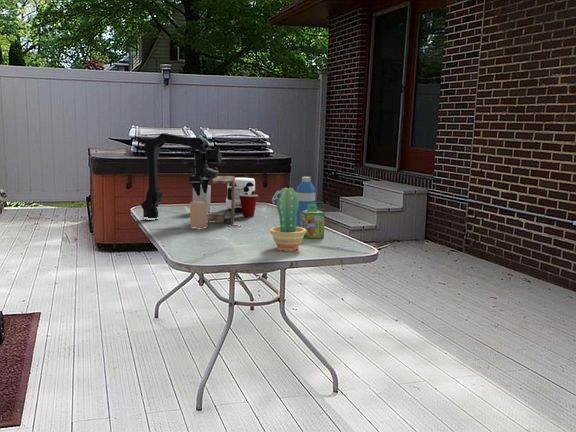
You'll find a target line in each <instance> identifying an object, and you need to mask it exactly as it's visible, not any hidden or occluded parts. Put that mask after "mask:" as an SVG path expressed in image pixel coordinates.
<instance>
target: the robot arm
mask: <svg viewBox="0 0 576 432" xmlns="http://www.w3.org/2000/svg"><path fill="white" fill-rule="evenodd" d="M167 142H169V143H174V144H178V145H183V146H184V145H185V146H188V147H189V148H191V151H190V152H189V154H190V155H194V157H193V158H194V165H193V169H194V173H193V175H190V176H189V177H188V182H189V184H191V186H192V189H193V188H194V190H195V192H196V194H197V195H198V196H200V190H201V186H202V189H203V192H204V193H207V188H208V185H210V183H211V182H212V180H213V178H217V176H219V174H220V172H219V170H218V167H213V168H210V167H209V165H208V164H207V163H209V164H221V163H222V159H223V158H222V157H223V156H222V152H221V149H220V148H215V149H212V148H211V147H210V145H209V144H208V142H207V140H206V138H205V137H201V136H200V137H199V136H197V137H196V136H195V137H192V136H191V137H187V136H181V135H176V134H172V133H171V134H170V133H167V132H164V133H160V134H159V135H158V136H156V137H155V138H153V139H152V140H150V141H147V142H145V144H144V146H143V150H144V155H145V157H146V159H147V172H148V173H147V176H148V177H147V178H148V189H147V191H146V193H145V201H143V202H142V203H141V205H140V206H141V208H142V211H143V213H142V214H143V217H142V218H144V217H148V218H157V217H158V218H159V210H158V207H159V206H160V204H161V202H162V200H163V199H164V198H163V190H160V188H159V174H158V172H159V171H158V169H159V168H158V158H159V155H160V153H161V148H162V147H163V146H164V145H165V144H166V143H167Z"/></svg>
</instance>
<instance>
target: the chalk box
mask: <svg viewBox="0 0 576 432" xmlns="http://www.w3.org/2000/svg"><path fill="white" fill-rule="evenodd" d="M317 204H318V203H315V204H307V210H301V211H300V227H301V228H305V229H306V230H307V231H306V234H305V235H304V237H303V239H324V238H325V235H324V234H325V221H326V220H325V217H326V216H325V215H326V213H325V212H323V211H322V210H319V209H318V205H317ZM311 206H313V207H314V209H313V210H312V209H310V207H311Z"/></svg>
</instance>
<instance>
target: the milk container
mask: <svg viewBox="0 0 576 432" xmlns="http://www.w3.org/2000/svg"><path fill="white" fill-rule="evenodd" d="M226 188H227V195H226V198H225V207H226V209H227V210H229V211H231V184H227V187H226ZM255 192H256V181H255V178H252V177H235V212H242V208H241V201H240V197H239V195H241V194H249V195H256V193H255Z"/></svg>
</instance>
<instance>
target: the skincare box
mask: <svg viewBox="0 0 576 432" xmlns="http://www.w3.org/2000/svg"><path fill="white" fill-rule="evenodd" d="M211 190H212V185H210V184H208V188H207V193H204V192H203V189H202V186H201V190H200V196H198V195H197V194H196V192H195V190H194V188H193V187H192V202H194V201H204V202H207V213H208V212H210V213H211V193H212V191H211ZM208 214H209V213H208Z"/></svg>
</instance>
